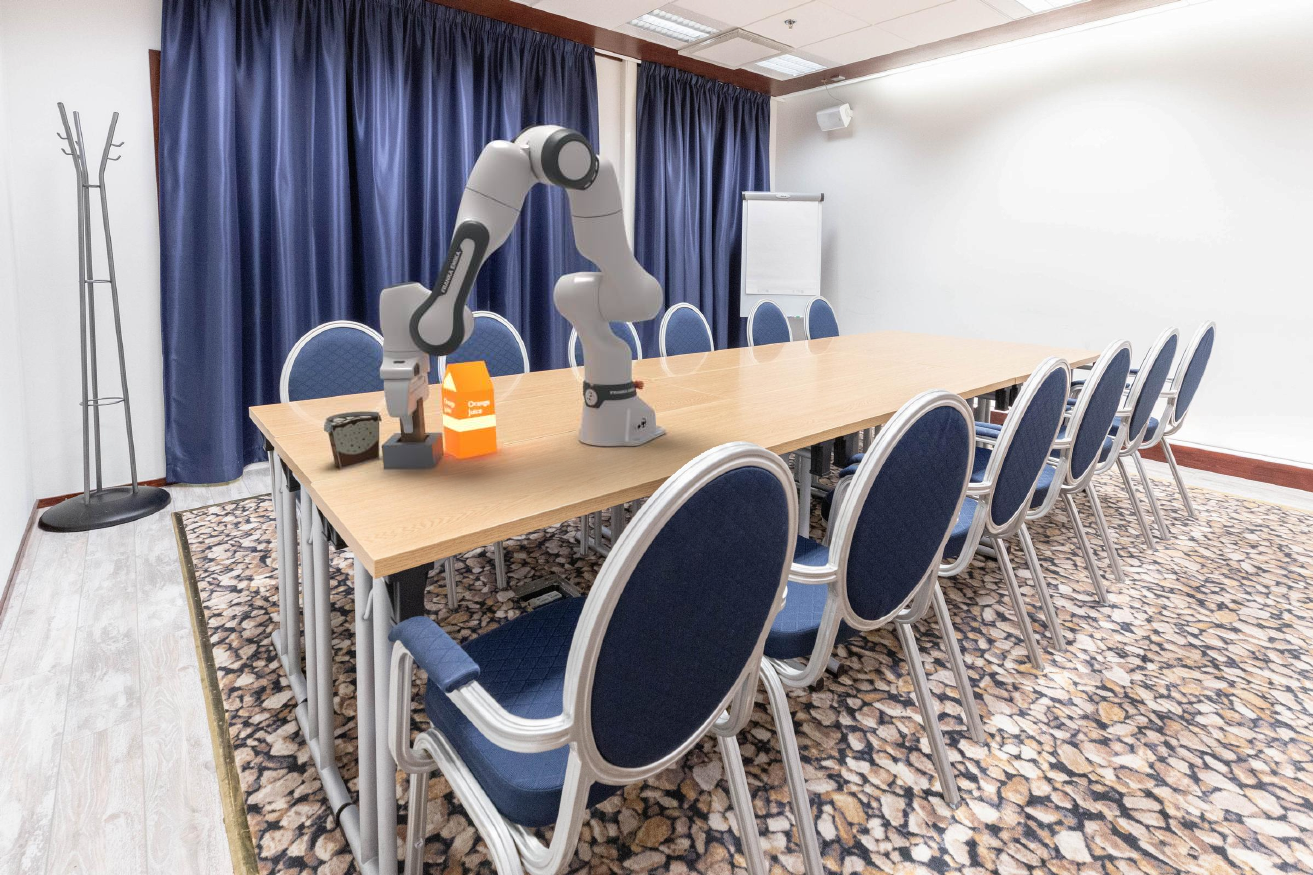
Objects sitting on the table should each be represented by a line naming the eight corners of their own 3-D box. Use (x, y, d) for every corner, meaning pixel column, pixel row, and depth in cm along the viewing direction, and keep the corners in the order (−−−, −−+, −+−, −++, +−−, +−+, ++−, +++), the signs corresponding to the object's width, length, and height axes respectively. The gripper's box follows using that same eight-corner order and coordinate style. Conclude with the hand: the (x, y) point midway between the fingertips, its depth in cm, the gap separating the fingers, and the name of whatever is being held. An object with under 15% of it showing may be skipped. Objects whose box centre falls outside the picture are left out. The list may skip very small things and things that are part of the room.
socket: (396, 455, 151) (394, 433, 150) (443, 454, 152) (442, 432, 150) (383, 468, 141) (381, 445, 140) (433, 468, 142) (432, 444, 141)
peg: (403, 457, 144) (397, 401, 141) (407, 452, 148) (403, 397, 145) (422, 457, 144) (418, 401, 141) (427, 452, 148) (422, 397, 145)
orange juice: (445, 451, 154) (438, 362, 149) (481, 444, 160) (476, 358, 155) (460, 458, 149) (455, 366, 144) (497, 451, 154) (493, 362, 149)
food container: (366, 452, 153) (362, 408, 150) (385, 456, 150) (381, 411, 147) (315, 466, 142) (309, 419, 140) (334, 471, 139) (328, 423, 137)
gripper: (404, 356, 151) (409, 417, 154) (376, 371, 131) (383, 441, 135) (433, 356, 151) (438, 417, 155) (410, 371, 132) (416, 441, 135)
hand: (412, 429), depth 145 cm, fingers closed on peg, 4 cm apart
